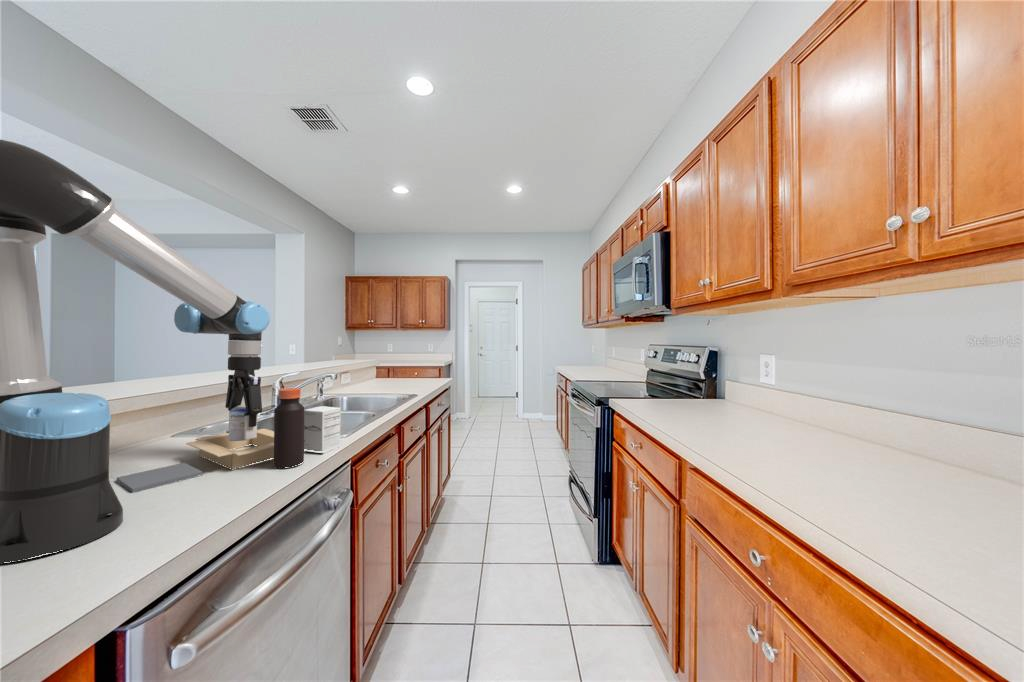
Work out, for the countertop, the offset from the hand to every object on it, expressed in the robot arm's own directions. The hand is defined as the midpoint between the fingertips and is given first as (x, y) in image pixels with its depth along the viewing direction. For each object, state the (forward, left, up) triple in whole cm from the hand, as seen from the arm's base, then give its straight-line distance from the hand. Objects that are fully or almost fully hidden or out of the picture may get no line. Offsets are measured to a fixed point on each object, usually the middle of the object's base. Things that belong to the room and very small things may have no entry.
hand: (242, 435), depth 101 cm
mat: (-2, +18, -6) cm, 19 cm away
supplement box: (-13, -15, -6) cm, 21 cm away
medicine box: (0, 0, -1) cm, 1 cm away
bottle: (-18, -3, -6) cm, 19 cm away
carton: (0, 0, -6) cm, 6 cm away
